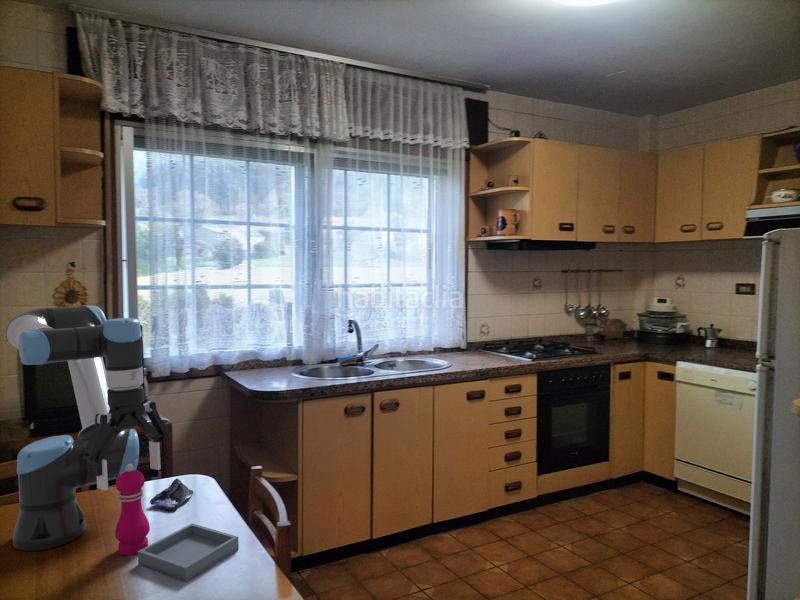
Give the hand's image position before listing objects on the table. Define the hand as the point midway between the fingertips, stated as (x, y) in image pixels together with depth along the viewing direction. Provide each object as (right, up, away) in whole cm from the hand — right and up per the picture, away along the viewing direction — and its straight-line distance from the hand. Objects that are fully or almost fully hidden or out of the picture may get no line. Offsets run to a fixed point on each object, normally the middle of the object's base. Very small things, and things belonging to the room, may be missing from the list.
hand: (130, 478), depth 132 cm
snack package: (0, -15, +27) cm, 31 cm away
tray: (+14, -17, -2) cm, 22 cm away
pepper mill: (0, -17, +1) cm, 17 cm away
